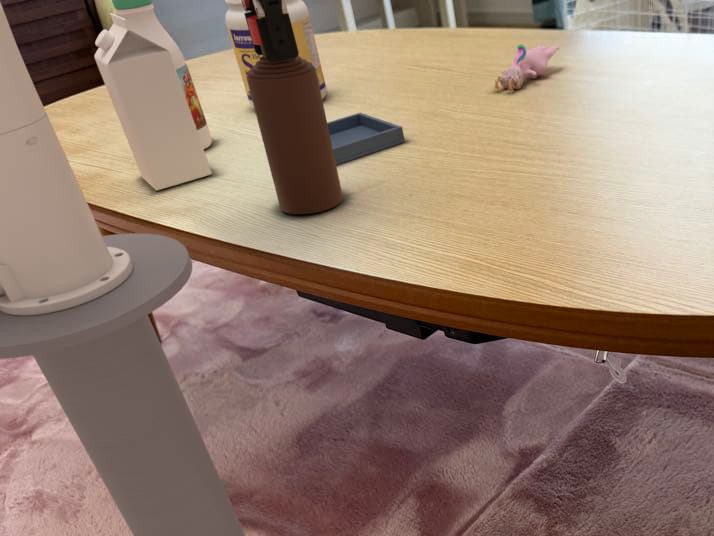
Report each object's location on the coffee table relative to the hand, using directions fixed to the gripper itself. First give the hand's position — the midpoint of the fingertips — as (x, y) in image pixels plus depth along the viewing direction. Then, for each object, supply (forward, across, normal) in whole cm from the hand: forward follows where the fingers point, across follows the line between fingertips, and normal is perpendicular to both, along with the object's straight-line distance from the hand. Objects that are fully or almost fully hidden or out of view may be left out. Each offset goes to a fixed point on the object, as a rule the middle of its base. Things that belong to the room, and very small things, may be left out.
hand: (276, 53), depth 82 cm
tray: (+16, +17, -8) cm, 24 cm away
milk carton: (+16, +22, +12) cm, 30 cm away
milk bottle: (+16, +34, +9) cm, 39 cm away
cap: (-3, 0, 0) cm, 3 cm away
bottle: (+16, 0, +1) cm, 16 cm away
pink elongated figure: (+16, +26, -42) cm, 52 cm away
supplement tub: (+16, +45, -9) cm, 49 cm away
